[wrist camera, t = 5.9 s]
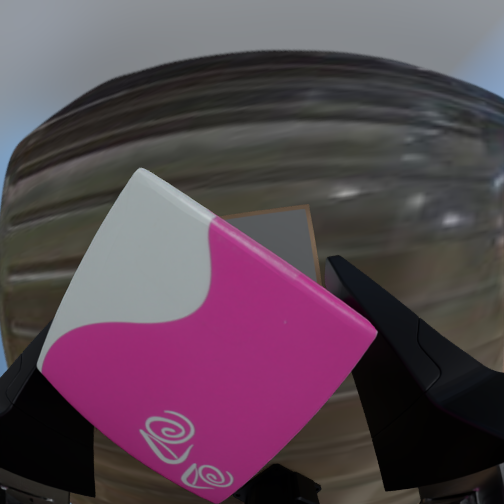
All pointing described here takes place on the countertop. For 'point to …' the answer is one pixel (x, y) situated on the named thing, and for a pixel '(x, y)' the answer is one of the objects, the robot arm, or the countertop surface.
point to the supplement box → (195, 341)
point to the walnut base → (283, 235)
